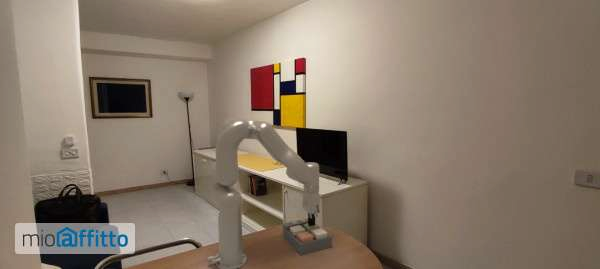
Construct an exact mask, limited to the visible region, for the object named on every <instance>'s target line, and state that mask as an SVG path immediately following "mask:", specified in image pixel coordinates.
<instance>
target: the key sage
mask: <svg viewBox="0 0 600 269" xmlns="http://www.w3.org/2000/svg"><path fill="white" fill-rule="evenodd" d="M319 227H320V226H319V225H318V224H317V223H315V225H313V226H309V225H308V223H307V224H304V229H305V230H306V231H308V232H309V233H310V232H311V230H315V229H319Z"/></svg>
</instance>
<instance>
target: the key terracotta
mask: <svg viewBox="0 0 600 269" xmlns="http://www.w3.org/2000/svg"><path fill="white" fill-rule="evenodd" d="M297 239H298V240H299V241H300V242H301V243H305V242H309V241H313V236H312V235H311V234H310V233H309V232H308V231H306V232H302V233H298V234H297Z"/></svg>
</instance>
